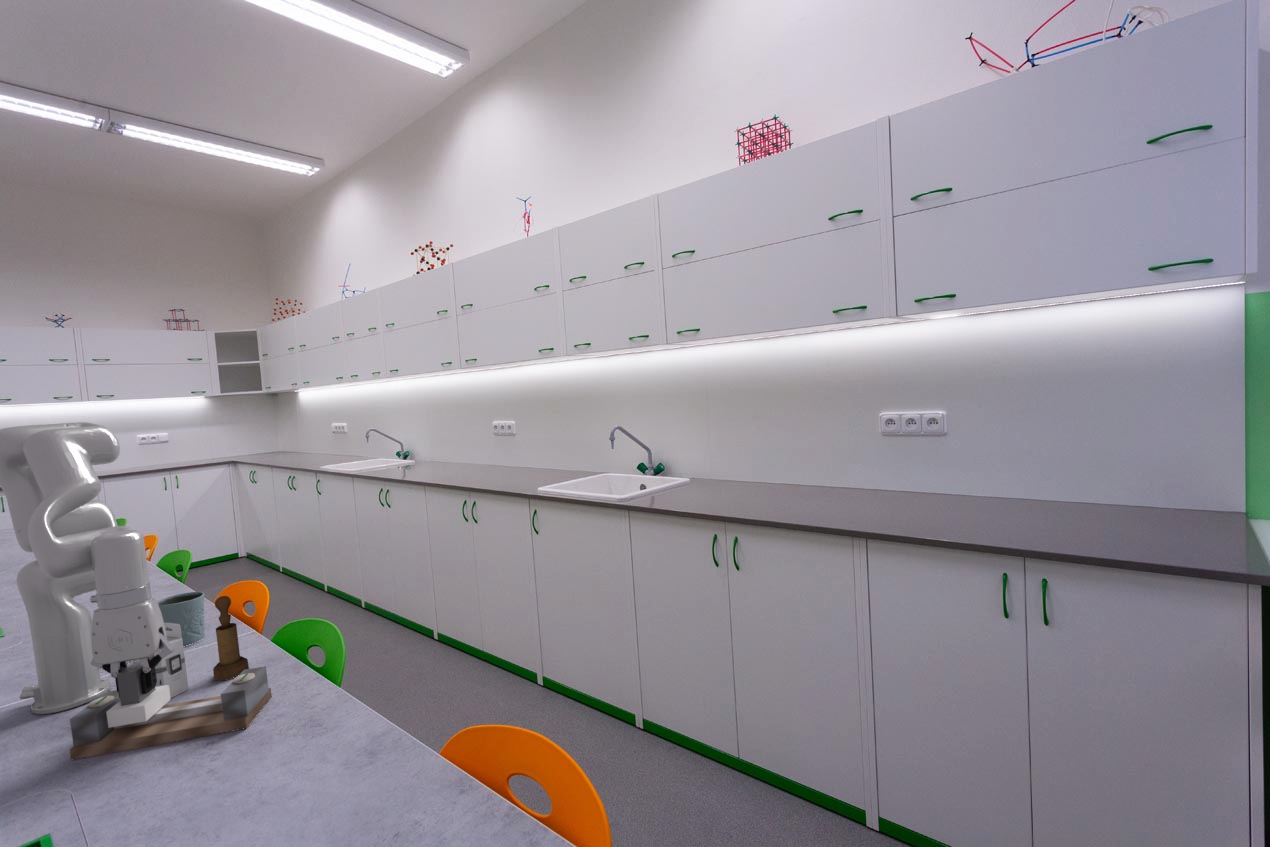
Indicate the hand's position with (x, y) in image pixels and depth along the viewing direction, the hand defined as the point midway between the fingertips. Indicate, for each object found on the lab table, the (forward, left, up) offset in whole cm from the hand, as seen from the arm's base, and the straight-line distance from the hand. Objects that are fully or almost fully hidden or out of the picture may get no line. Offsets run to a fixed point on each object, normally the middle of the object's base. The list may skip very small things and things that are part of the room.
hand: (137, 691), depth 111 cm
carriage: (0, 0, -4) cm, 4 cm away
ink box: (-5, +17, -8) cm, 20 cm away
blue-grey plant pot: (-16, +49, -8) cm, 52 cm away
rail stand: (+6, 0, -8) cm, 10 cm away
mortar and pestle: (+6, +22, -8) cm, 24 cm away
